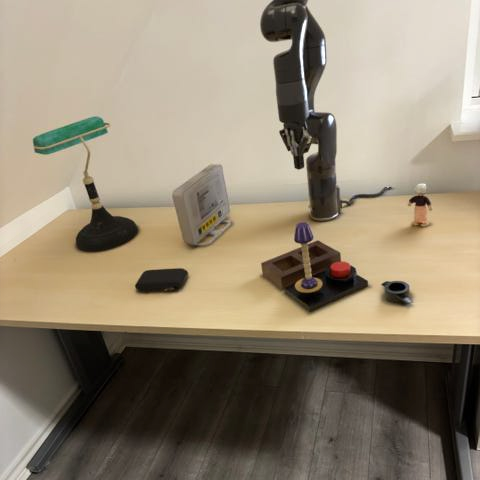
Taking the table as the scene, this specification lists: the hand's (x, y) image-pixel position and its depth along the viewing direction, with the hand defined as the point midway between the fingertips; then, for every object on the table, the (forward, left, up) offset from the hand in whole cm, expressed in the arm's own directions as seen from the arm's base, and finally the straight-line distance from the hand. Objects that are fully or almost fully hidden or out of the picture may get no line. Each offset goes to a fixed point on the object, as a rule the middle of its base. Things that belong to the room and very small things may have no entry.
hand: (299, 168), depth 132 cm
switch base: (+7, +19, -27) cm, 33 cm away
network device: (+15, -38, -27) cm, 49 cm away
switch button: (+2, +19, -23) cm, 30 cm away
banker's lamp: (+45, -65, -27) cm, 83 cm away
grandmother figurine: (-36, +7, -27) cm, 45 cm away
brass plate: (+12, +19, -23) cm, 32 cm away
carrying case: (+41, -16, -27) cm, 51 cm away
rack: (+6, +6, -27) cm, 28 cm away
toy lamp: (+12, +19, -23) cm, 32 cm away
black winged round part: (-4, +33, -27) cm, 43 cm away
